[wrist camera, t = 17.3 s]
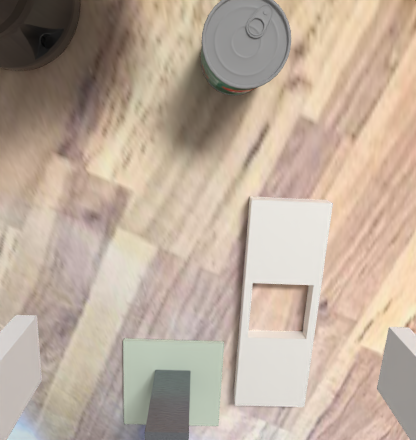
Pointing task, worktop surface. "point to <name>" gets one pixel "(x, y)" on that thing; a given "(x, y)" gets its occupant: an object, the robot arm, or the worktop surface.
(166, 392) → the square block
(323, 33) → the worktop surface
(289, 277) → the rail
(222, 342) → the pad
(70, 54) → the worktop surface
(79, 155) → the worktop surface
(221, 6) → the canned tomato
